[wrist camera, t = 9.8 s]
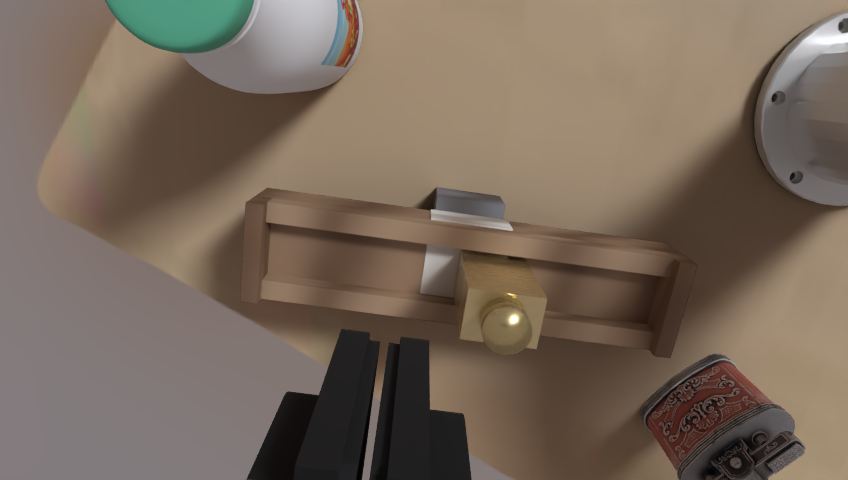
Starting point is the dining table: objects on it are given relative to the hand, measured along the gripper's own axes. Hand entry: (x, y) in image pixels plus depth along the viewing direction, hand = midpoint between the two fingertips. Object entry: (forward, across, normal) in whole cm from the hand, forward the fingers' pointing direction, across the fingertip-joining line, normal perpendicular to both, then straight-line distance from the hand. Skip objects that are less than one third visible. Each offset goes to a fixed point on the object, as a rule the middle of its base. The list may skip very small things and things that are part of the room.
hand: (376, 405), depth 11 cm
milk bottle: (+29, +8, -8) cm, 31 cm away
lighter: (+29, -23, +14) cm, 40 cm away
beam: (+29, -4, +5) cm, 30 cm away
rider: (+23, -6, +5) cm, 25 cm away
